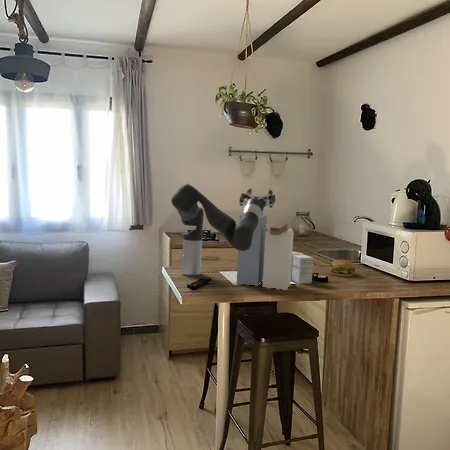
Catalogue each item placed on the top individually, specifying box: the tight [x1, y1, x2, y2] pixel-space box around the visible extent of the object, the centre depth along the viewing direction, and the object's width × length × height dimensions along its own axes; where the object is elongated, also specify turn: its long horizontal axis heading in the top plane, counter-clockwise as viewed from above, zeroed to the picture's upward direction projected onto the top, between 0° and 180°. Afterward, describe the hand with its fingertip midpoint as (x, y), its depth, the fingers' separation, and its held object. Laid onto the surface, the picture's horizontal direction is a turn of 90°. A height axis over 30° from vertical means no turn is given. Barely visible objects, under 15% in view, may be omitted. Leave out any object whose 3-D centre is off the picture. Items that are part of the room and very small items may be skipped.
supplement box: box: [291, 254, 314, 285], centre depth 231 cm, size 7×7×13 cm
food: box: [329, 258, 358, 278], centre depth 253 cm, size 14×14×8 cm
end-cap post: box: [262, 227, 295, 291], centre depth 219 cm, size 11×11×26 cm
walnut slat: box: [269, 222, 289, 235], centre depth 215 cm, size 24×4×3 cm, turn 164°
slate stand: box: [236, 211, 268, 287], centre depth 224 cm, size 13×10×33 cm
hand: (260, 190), depth 203 cm, fingers open, 8 cm apart
